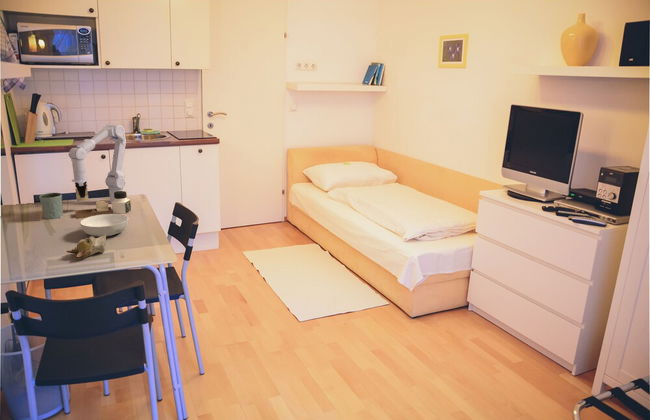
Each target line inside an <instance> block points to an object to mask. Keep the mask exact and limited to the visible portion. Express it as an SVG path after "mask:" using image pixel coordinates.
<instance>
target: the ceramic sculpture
mask: <svg viewBox="0 0 650 420" xmlns="http://www.w3.org/2000/svg"><path fill="white" fill-rule="evenodd" d="M106 246H107V236H106V235H103V236H101V237H99V236H98V237H95V236H92V235H87V236H86V237H85V238H82V239H80V240H79V241H78V242H77V244H76V246H75V247H74V248H73V249H71V250H66V253H67V254H68V253H69V254H73V255H76V256H74V259H85V258H87V257H89V256H92V255H94V254H97V253H102V254H103V253H105V251H106Z"/></svg>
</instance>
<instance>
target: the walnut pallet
mask: <svg viewBox="0 0 650 420" xmlns="http://www.w3.org/2000/svg"><path fill="white" fill-rule="evenodd" d="M108 209H109V210H107V211H98V212H97V208H89V209H88V208H87V209H78V210H74V215H75V219H76V220H79V219H85V218H88V217H91V216H96V215H103V214H113V211H112V206H108Z"/></svg>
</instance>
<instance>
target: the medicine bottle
mask: <svg viewBox="0 0 650 420" xmlns="http://www.w3.org/2000/svg"><path fill="white" fill-rule="evenodd" d="M114 198H115V200H114V201H113V202H112V203H111V209H112V214H121V215H125V214H128V213H129V212H130V211H132V207H131V199H130V198H128V196H127V191H125V190H123V191H116V192H114Z"/></svg>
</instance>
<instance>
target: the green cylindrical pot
mask: <svg viewBox="0 0 650 420" xmlns="http://www.w3.org/2000/svg"><path fill="white" fill-rule="evenodd" d="M38 198H39V201H40V205H41V209H42V213H43V217H44V219H46V220H58V219H61V218H62V217H63V216H64V210H63V209H64V207H63V194H62V193H60V192H48V193H43V194H40V195H39V197H38Z"/></svg>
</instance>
